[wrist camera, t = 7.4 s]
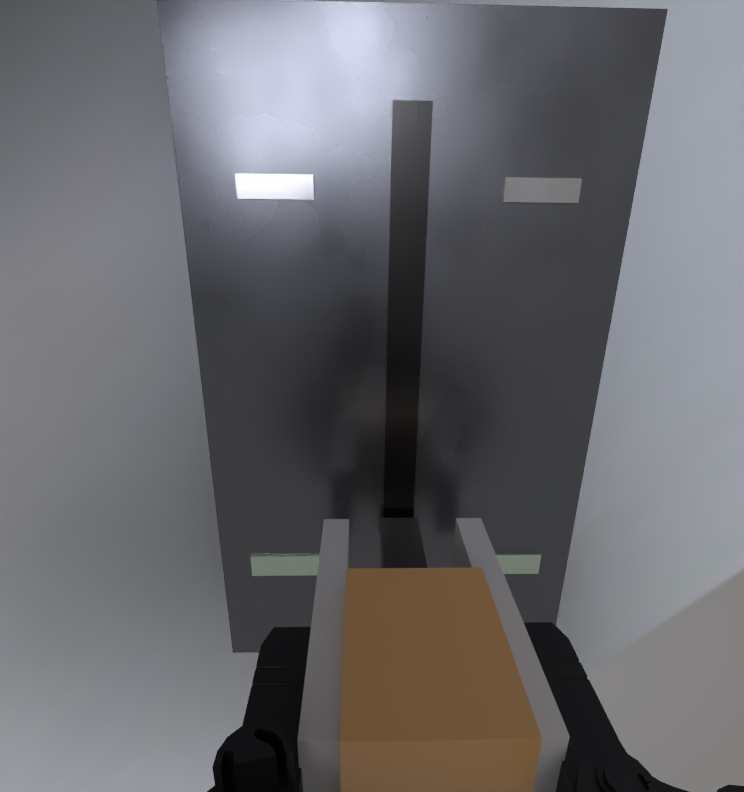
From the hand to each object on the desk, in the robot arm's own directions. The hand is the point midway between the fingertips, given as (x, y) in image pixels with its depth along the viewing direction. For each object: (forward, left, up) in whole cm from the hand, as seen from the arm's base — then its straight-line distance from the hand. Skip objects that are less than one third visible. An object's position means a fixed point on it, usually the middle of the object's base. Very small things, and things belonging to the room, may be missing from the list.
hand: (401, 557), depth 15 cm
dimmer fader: (0, 0, -1) cm, 1 cm away
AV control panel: (-5, 0, -4) cm, 6 cm away
